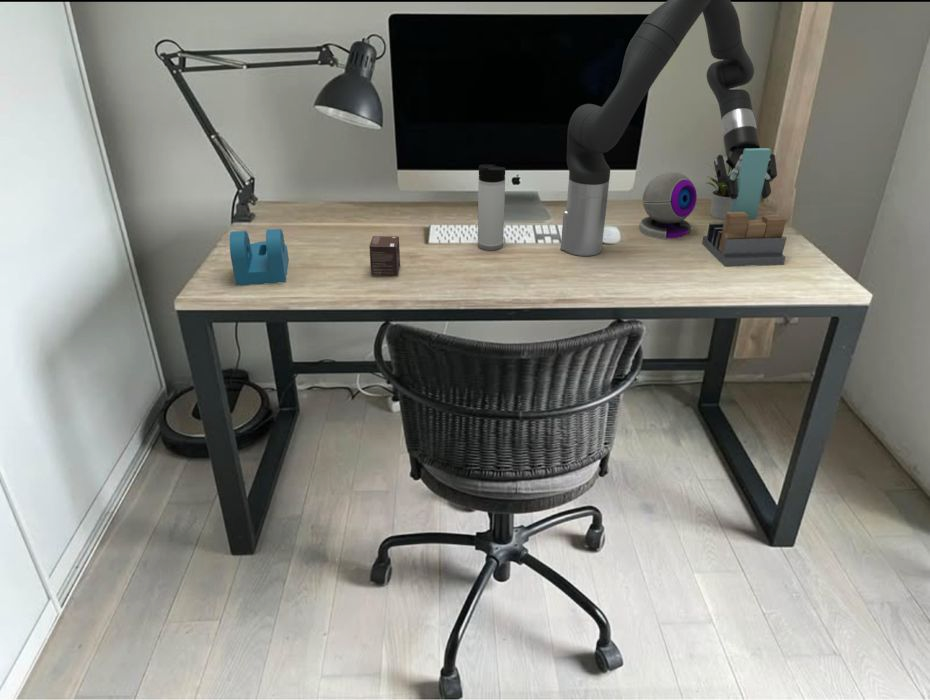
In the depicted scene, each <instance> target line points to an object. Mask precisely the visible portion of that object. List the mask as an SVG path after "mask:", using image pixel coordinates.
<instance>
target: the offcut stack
mask: <svg viewBox="0 0 930 700" xmlns="http://www.w3.org/2000/svg"><path fill="white" fill-rule="evenodd" d="M761 216H762V217H761V219H756V220H749V217H750V216H749V215H747V214H746V213H745V212H726V216H725V219H724V222H723V223H724V226H723V231H722V236H721V240H720V245H719V250H720V251H721V252H722V253H723V248H724V243H725V239H726V238H754V237H783V234H784V231H785V226H786V223H787V219H786V218H785V217H784V216H782V215H780V214H776V215H775V214H773V215H771V214H770V215H761Z"/></svg>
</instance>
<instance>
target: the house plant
mask: <svg viewBox="0 0 930 700" xmlns="http://www.w3.org/2000/svg"><path fill="white" fill-rule="evenodd" d="M726 156H727V155H726V154H724V157H726ZM716 158H717V157H714V160H715V159H716ZM705 164H707V165H708V166H710V168H712V169H713V170H715V167H713V166H711V165H710V164H709V163H708V162H707V163H705ZM727 165H728V164H727ZM731 169H732V168H731V167H730V166H729V165H728V174H727V175H729V173H730V171H731ZM738 175H739V174H737V176H736V178H735V180H734V181H736V183H737V180H738ZM714 176H715V178H714V177H711V176H706V177H707V178H708V179H710V180H711V181H712V182H713V183H715V184H716V185H717V187H716V185H715V184H713V183H712V182H711V181H710V182H709V181H708V182H706V184H708V185H711V186H712V187H714V188H715V189H714V190H712V191H711V195H710V196H711V201H710V202H711V206H710V207H711V210H710V216H711V215H712V216H711V217H713V218H716V219H719V218H720V220H721V219H722V220H725V216H726V212H731V209H732V205H733V200H734V199H731V197H730V196H729V194H728V188H727V185H726V183H723V182H722V183H719V182H718V179H717V175H714ZM716 179H717V180H716ZM717 188H718V189H717Z"/></svg>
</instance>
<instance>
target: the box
mask: <svg viewBox="0 0 930 700" xmlns="http://www.w3.org/2000/svg"><path fill="white" fill-rule="evenodd" d="M368 246H369V259H370V260H369V261H370V275H371V277H398V276H399V272H400V268H401V255H400V253H401V252H400V250H401V249H400V237H399V236H392V235H391V236H390V235H389V236H384V235H383V236H381V235H379V236H378V235H374V236H372V238H371V240H370V243H369V245H368Z"/></svg>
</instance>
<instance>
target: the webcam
mask: <svg viewBox="0 0 930 700" xmlns="http://www.w3.org/2000/svg"><path fill="white" fill-rule="evenodd" d="M642 195H643V196H642V205H643V208H644V210H645V213H646V215H648V216H646V217H643V218H642V219H641V220H640V221H639V226H638V230H639V231H640V232H641V234H644V235H646V236H649V237H652V238H656V239H663V240H666V239H676V238H678V237H679V238H682V237H685V236H686V235H687V234H688V233H691V231H692V225H691V224H690V223H689V222H688V221H687V220H685V219H686V218H688V217H689V216H690V214H692V212H693V211H694V210H695V207H696V204H697V200H698V199H697V197H698V196H697V190H696V187H695V185H694V183H693V182H692V180H691V179H690V178H689V177H688V176H686V175H685V174H684V173H680V172H676V171H667V172H663V173H660V174H657V175H656V176H655V177H653V178H652V179H651V180H650V181H649V182H648V183H647V185H645V188H644V192H643V194H642ZM684 235H685V236H684Z"/></svg>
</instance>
